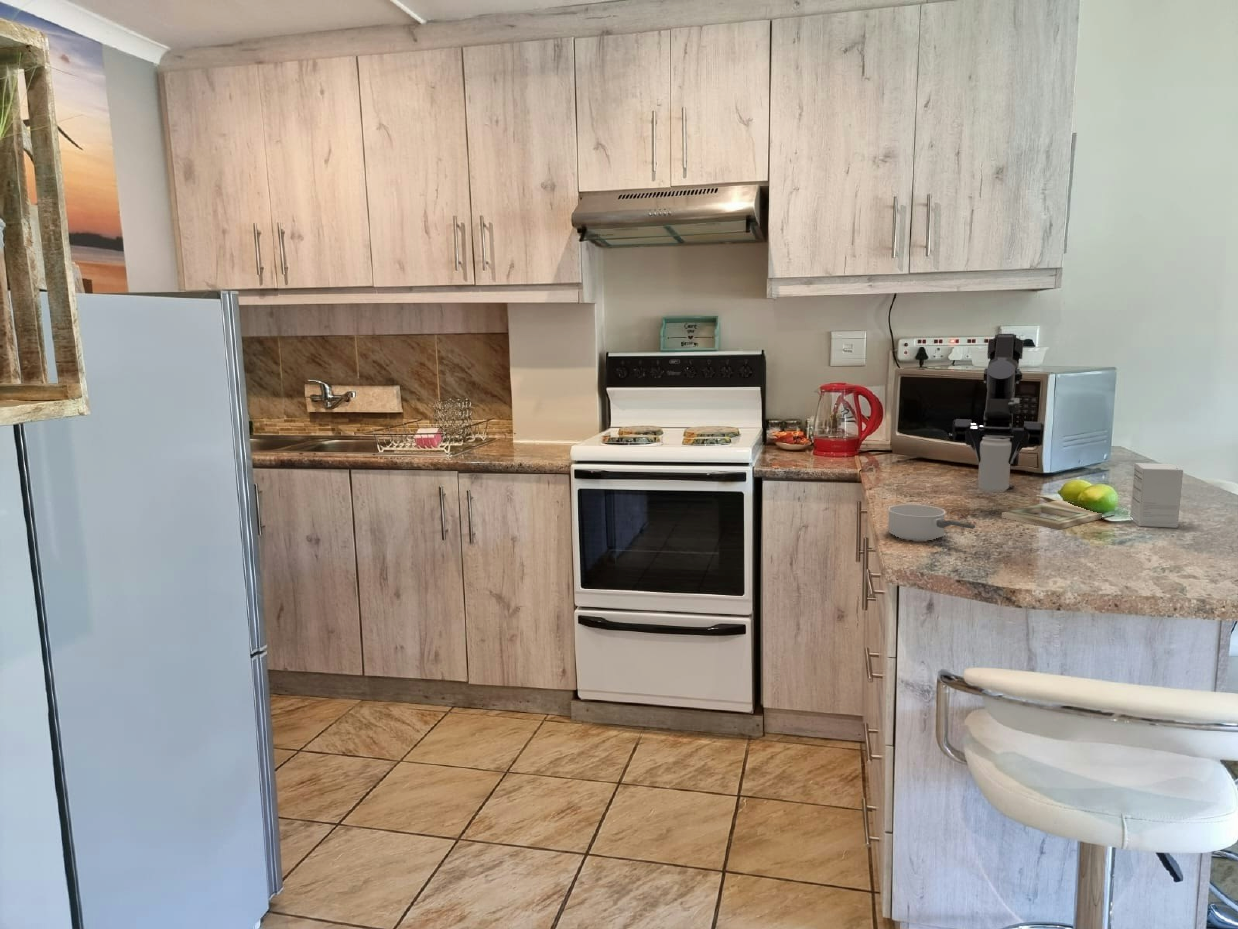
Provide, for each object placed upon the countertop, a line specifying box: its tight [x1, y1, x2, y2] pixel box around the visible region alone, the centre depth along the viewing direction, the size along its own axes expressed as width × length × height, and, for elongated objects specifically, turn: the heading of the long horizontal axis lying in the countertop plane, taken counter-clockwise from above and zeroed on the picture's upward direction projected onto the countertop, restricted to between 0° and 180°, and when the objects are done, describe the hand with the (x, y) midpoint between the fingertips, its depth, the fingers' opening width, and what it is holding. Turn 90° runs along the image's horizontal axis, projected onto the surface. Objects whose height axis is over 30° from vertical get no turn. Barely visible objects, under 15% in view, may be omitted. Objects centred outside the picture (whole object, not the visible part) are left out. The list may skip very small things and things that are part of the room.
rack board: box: [1001, 499, 1102, 530], centre depth 183 cm, size 22×13×1 cm, turn 122°
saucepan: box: [887, 503, 976, 542], centre depth 165 cm, size 12×20×6 cm, turn 25°
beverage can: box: [977, 436, 1012, 493], centre depth 184 cm, size 6×6×12 cm
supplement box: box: [1129, 462, 1184, 529], centre depth 175 cm, size 7×7×13 cm
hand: (994, 462), depth 183 cm, fingers closed on beverage can, 6 cm apart
